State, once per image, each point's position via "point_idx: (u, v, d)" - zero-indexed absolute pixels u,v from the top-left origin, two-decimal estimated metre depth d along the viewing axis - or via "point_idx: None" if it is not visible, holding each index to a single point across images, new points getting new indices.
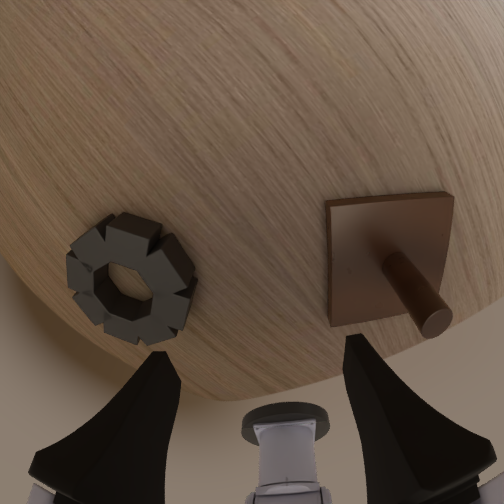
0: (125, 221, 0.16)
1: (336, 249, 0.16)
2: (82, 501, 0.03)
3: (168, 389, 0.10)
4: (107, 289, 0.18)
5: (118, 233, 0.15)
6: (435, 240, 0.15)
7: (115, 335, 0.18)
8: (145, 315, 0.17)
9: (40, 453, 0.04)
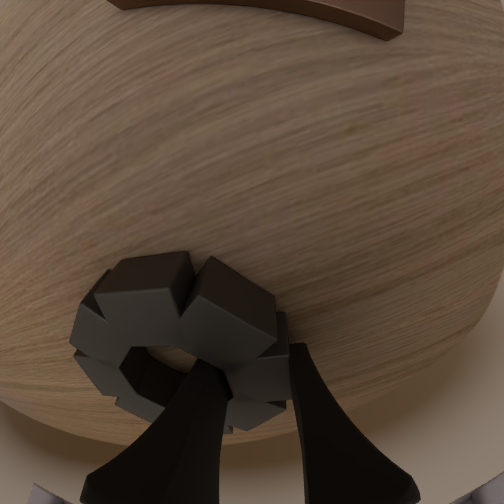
0: None
1: None
2: None
3: (220, 390, 0.09)
4: None
5: (76, 336, 0.09)
6: None
7: (255, 423, 0.11)
8: (226, 376, 0.09)
9: (90, 476, 0.04)
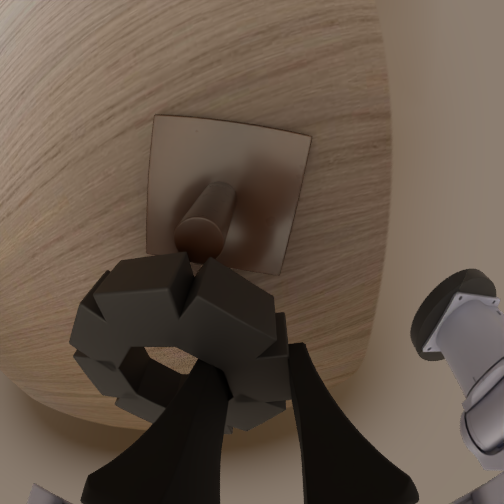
0: None
1: None
2: None
3: (221, 389, 0.09)
4: None
5: (76, 337, 0.09)
6: (201, 142, 0.14)
7: (255, 423, 0.11)
8: (225, 376, 0.09)
9: (91, 476, 0.04)
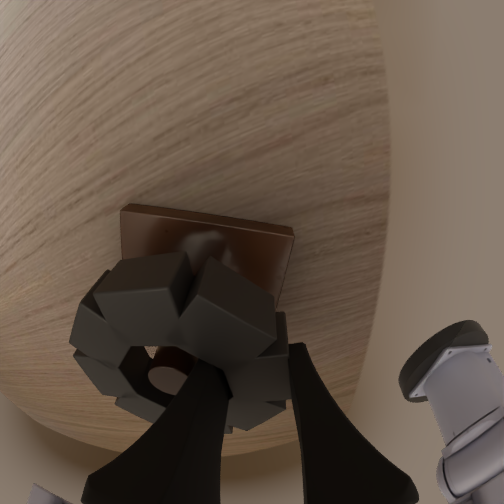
0: None
1: None
2: None
3: (221, 389, 0.09)
4: None
5: (76, 336, 0.09)
6: (172, 242, 0.14)
7: (255, 423, 0.11)
8: (225, 376, 0.09)
9: (91, 476, 0.04)
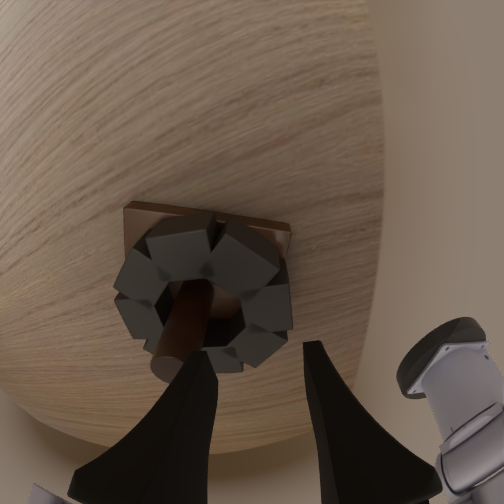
0: None
1: None
2: None
3: (209, 390, 0.10)
4: (208, 331, 0.16)
5: (122, 279, 0.13)
6: None
7: (262, 357, 0.15)
8: (241, 306, 0.13)
9: (78, 471, 0.04)
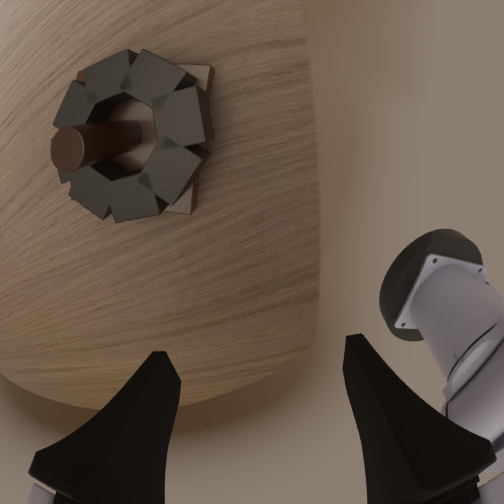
0: None
1: None
2: (82, 501, 0.03)
3: (168, 389, 0.10)
4: (131, 172, 0.14)
5: (60, 113, 0.11)
6: None
7: (178, 187, 0.13)
8: (153, 118, 0.12)
9: (40, 453, 0.04)
